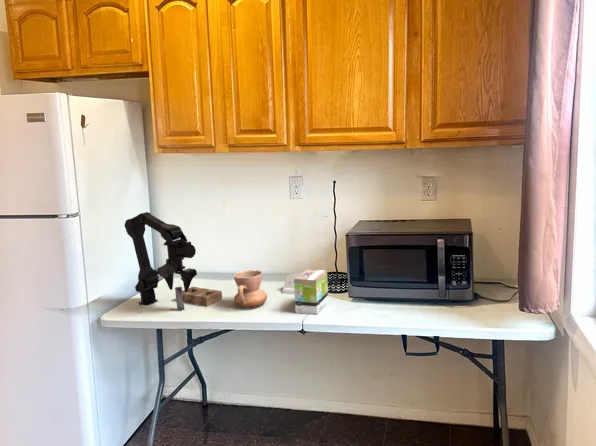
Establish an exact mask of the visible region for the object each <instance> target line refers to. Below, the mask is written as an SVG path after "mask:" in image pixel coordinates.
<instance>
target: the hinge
mask: <svg viewBox="0 0 596 446" xmlns="http://www.w3.org/2000/svg"><path fill="white" fill-rule="evenodd" d="M301 273H302V272H294V273H290V274H287V275H286V276H285V279H284V286H283V288H282V294H283V295H295V289H294V279H295V278H296V277H297V276H298V275H300V274H301Z"/></svg>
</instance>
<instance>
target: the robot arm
mask: <svg viewBox="0 0 596 446" xmlns="http://www.w3.org/2000/svg"><path fill="white" fill-rule="evenodd" d="M146 226H147V227H149V228H151V229H153V230H155V232H158V233H159V234H160V237H161V238H162V239H163V240H165V242H164V243H163V246H165V247H166V249H167V258H166V260H165V263H164V264H163V265H161V266H159V267H158V268H157V269H154V268H153V267H152V266H151V261H150V258H149V253H148V249H147V245H146V240H145V237H144V235H145V232H146ZM124 229H125V232H126V234H127V235H128V236H129V237H130V238H131V239H132V242H133V246H134V252H135V255H136V258H137V264H138V267H139V271H138V275H137V278H138V279H137V280H138V281H137V282H136V285H135V287H134V288H135V292H137V293H139V295H140V301H139V302H138V304H140V305H143V306H149V305H152V304H155V303H157V302H159V299H157V298H156V292H155V289H156V288H158V285H159V278H160V277H161V278H163V279H164V280H165V282H166V284H167V286H168V288H169V290H170V291H171V290H173V286H174V276H175V275H180V277H181V278H180V280H181V281H182V283H183V288H184V290H185V292H188V289H189V288H190V286H191V283H192V281H193V279H194V278H195V277H196V276H198V275H197V274H198V273H197V269H196V268H189V267H188V268H186V266H185V265H184V263H183V260H185V258H186V259H192V258H194V257H195V255H196V253H197V252H196V251H197V250H196V248H195V246H194V245H193V244H192V242H191V241H188V239H187V236H186V235H185V234H184V231H183V230H182V228H181V227H180V226H179V225H176V224H174V223H172V224H171V223H166V222H164V221H162V220H161V219H159V218H158V217H156V216H154V215H153V214H152V213H150V212H147V211H145V212H142V213H141V212H140V213H139V214H137V215H136V216H133V217H132V218H129V219H126V220H125V222H124Z"/></svg>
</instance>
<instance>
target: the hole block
mask: <svg viewBox="0 0 596 446" xmlns="http://www.w3.org/2000/svg"><path fill="white" fill-rule="evenodd" d="M182 291H183V300H184V304H185V303H186V304H191V303H192V305H196V304H197V306H202V305H204V306H203V307H209V306H212V305H214V304H216V303H218V302H220V301H222V300H223V293H222V290H217V289H210V288H203V287H197V286H191V287H189V289H188V292H185V290H183V289H182ZM211 304H212V305H211Z"/></svg>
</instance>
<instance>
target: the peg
mask: <svg viewBox="0 0 596 446" xmlns="http://www.w3.org/2000/svg"><path fill="white" fill-rule="evenodd" d="M174 291H175V292H174V293H175V301H176V309H177V311H178V312H182V310H183V311H185V302H184V300H183V287H182V286H177V287H175V288H174Z"/></svg>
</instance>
